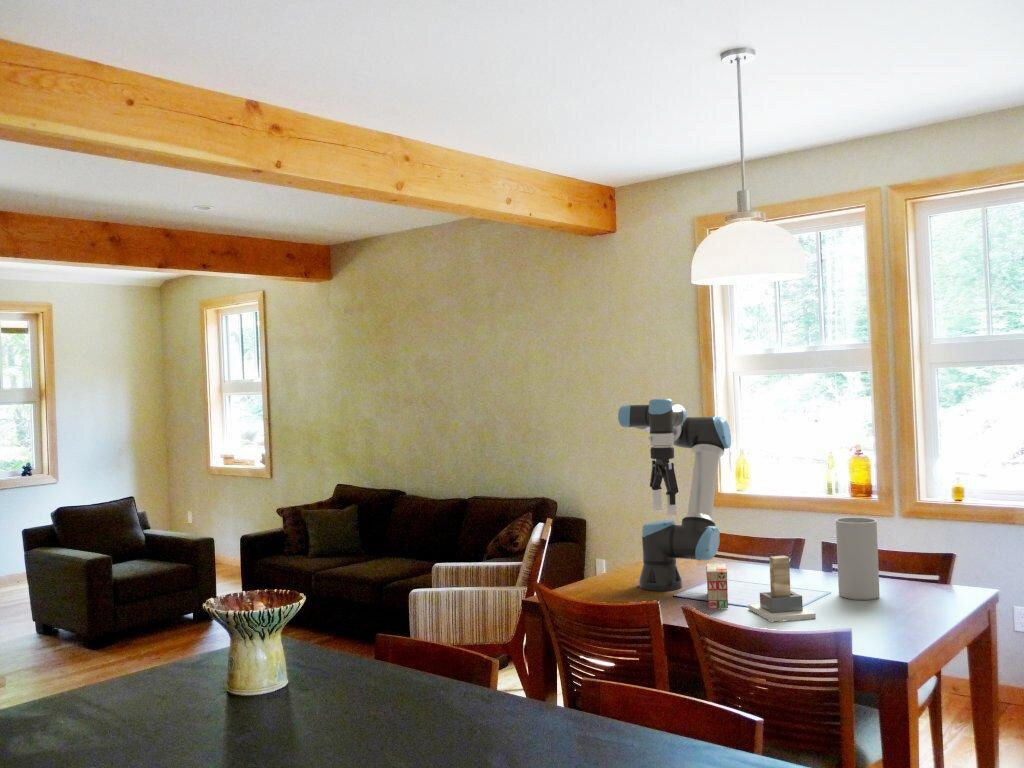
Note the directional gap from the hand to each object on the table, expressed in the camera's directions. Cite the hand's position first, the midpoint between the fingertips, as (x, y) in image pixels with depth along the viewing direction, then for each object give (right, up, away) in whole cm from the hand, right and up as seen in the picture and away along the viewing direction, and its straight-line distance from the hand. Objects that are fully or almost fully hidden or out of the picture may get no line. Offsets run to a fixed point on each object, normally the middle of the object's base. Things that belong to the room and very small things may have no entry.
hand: (664, 512), depth 285 cm
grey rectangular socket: (+34, -28, -13) cm, 46 cm away
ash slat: (+34, -28, -13) cm, 46 cm away
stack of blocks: (+19, -31, +6) cm, 36 cm away
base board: (+34, -29, -13) cm, 47 cm away
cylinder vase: (+65, -29, +6) cm, 71 cm away
